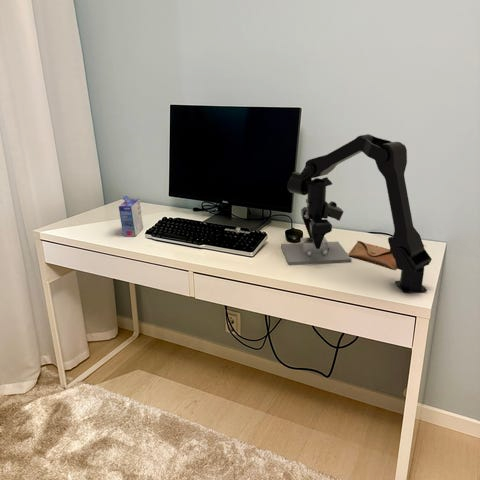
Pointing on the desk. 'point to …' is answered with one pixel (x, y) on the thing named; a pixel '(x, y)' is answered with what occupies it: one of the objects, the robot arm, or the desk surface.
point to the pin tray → (333, 256)
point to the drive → (313, 246)
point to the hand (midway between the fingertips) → (314, 243)
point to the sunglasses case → (373, 255)
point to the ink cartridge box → (131, 217)
